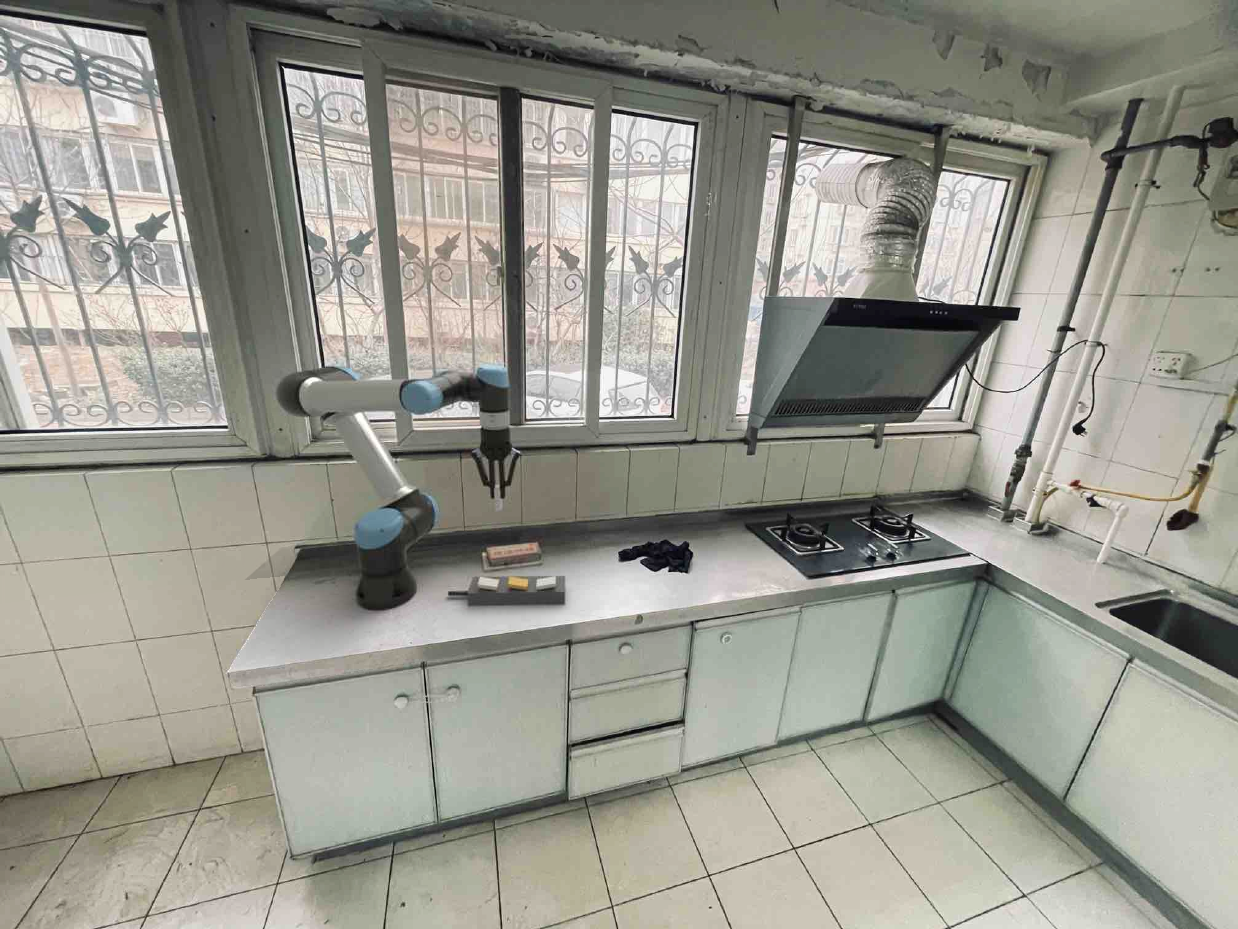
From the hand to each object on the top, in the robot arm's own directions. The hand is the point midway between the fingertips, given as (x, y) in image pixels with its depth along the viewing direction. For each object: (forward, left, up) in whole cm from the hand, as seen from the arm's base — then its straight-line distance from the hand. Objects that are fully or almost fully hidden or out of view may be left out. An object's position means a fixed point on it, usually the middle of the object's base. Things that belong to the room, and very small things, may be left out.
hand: (498, 508), depth 135 cm
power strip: (+3, -6, -24) cm, 25 cm away
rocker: (+14, -8, -20) cm, 25 cm away
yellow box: (+6, -8, -20) cm, 22 cm away
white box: (-2, -8, -20) cm, 21 cm away
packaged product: (+2, +13, -25) cm, 28 cm away
